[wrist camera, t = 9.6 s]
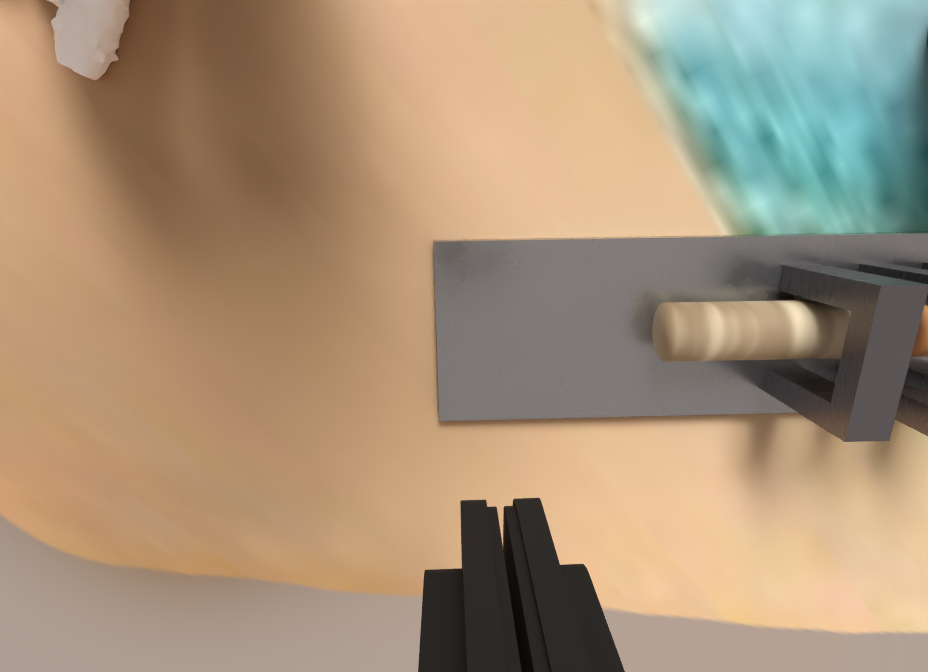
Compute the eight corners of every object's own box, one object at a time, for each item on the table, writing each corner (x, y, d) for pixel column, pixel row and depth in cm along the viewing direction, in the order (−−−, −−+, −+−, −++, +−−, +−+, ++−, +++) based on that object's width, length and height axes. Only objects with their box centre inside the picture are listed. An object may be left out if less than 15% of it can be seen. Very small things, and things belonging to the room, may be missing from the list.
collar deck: (434, 240, 30) (426, 257, 21) (1059, 230, 31) (1290, 243, 22) (439, 415, 33) (435, 490, 25) (1002, 402, 34) (1184, 470, 26)
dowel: (652, 361, 31) (679, 362, 27) (651, 305, 31) (676, 299, 27) (1015, 354, 31) (1088, 354, 28) (1012, 299, 32) (1084, 292, 28)
